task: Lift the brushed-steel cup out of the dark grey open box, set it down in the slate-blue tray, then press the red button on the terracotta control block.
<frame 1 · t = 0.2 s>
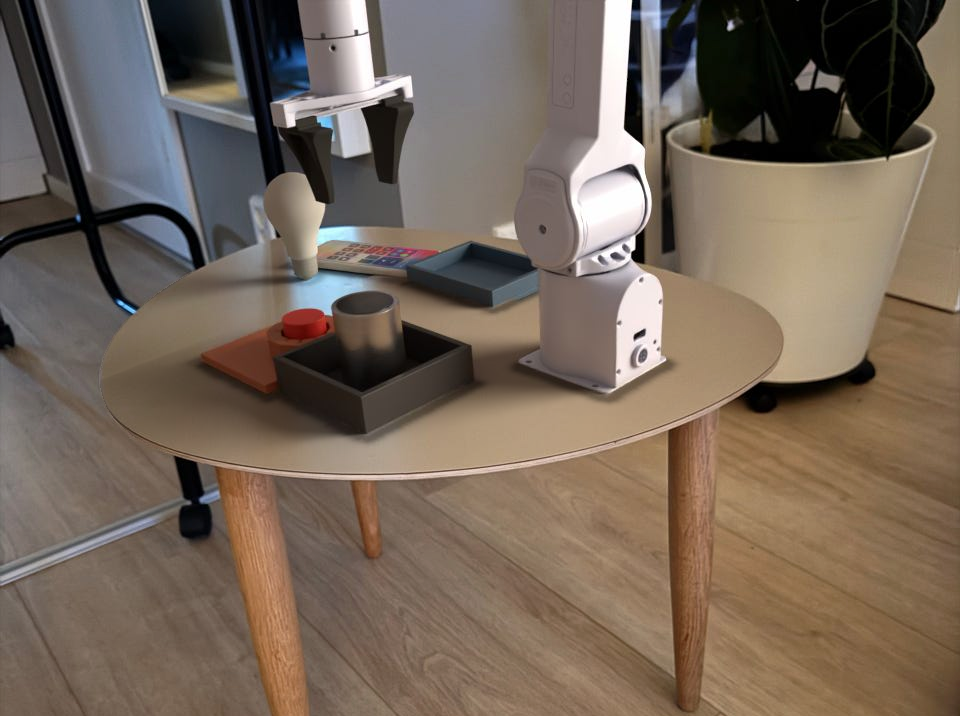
hand: (357, 191, 89), 10 cm above the table, tool pointing down, fingers open, 7 cm apart
steel cup: (376, 385, 76), resting on dark grey open box
dark grey open box: (377, 390, 76), on the table
tray: (481, 283, 95), on the table
start button: (304, 324, 80), point 3 cm above the table, slide at 0.1 cm
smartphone: (370, 264, 102), on the table
control: (278, 363, 82), on the table
lightbulb: (307, 281, 99), on the table
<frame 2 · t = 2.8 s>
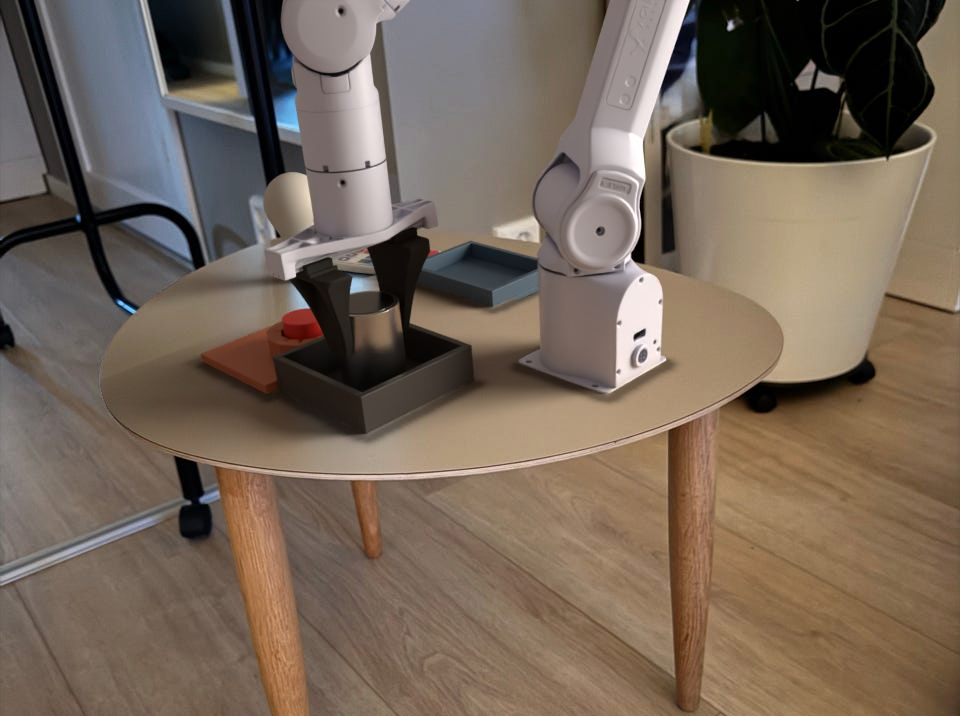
hand: (370, 340, 74), 4 cm above the table, tool pointing down, fingers closed on steel cup, 5 cm apart
steel cup: (376, 385, 76), point 1 cm above the table, touching gripper, dark grey open box
everything else where it was.
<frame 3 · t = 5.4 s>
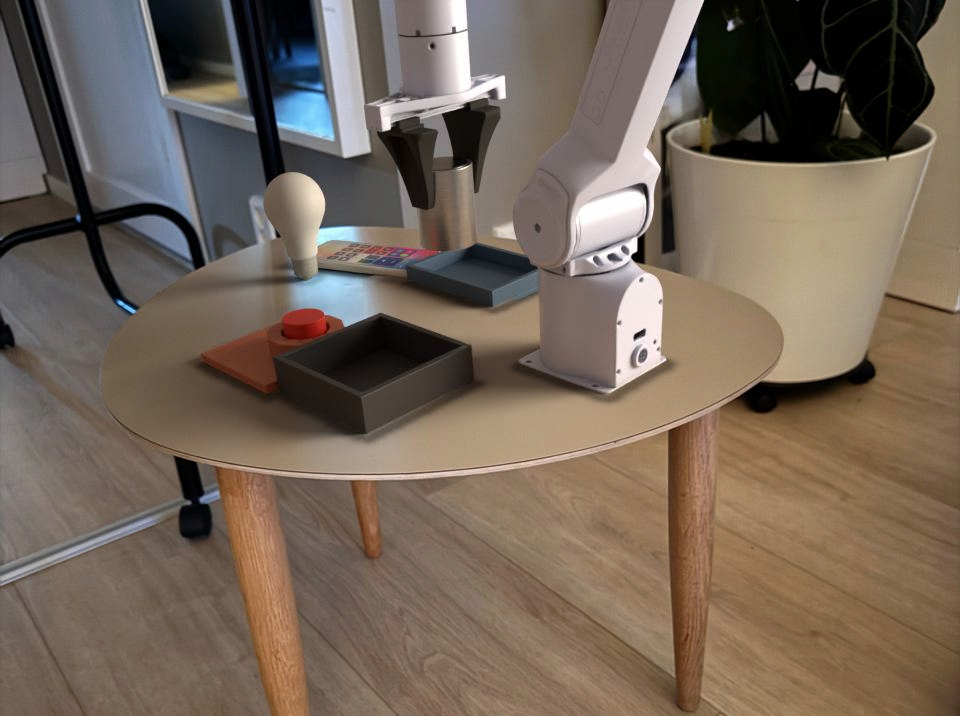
hand: (446, 199, 84), 10 cm above the table, tool pointing down, fingers closed on steel cup, 5 cm apart
steel cup: (448, 242, 86), point 7 cm above the table, touching gripper
everything else where it was.
when the fingers open (4 cm above the table, at t = 7.9 s): steel cup stays where it is, resting on tray.
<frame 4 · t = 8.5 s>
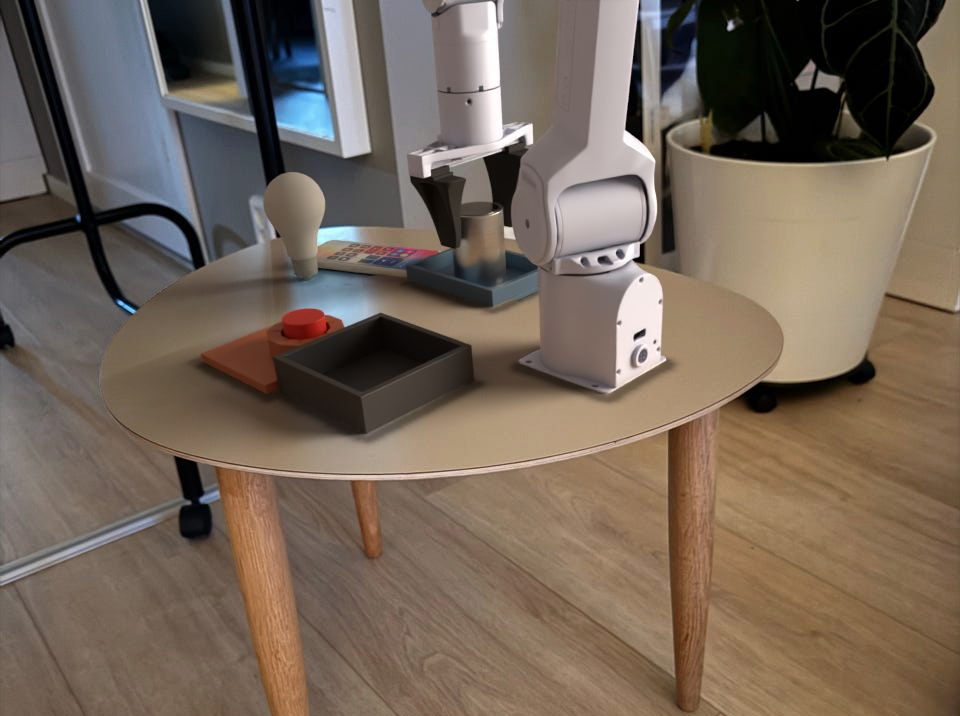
hand: (478, 235, 92), 5 cm above the table, tool pointing down, fingers open, 7 cm apart
steel cup: (480, 278, 95), resting on tray
everything else where it was.
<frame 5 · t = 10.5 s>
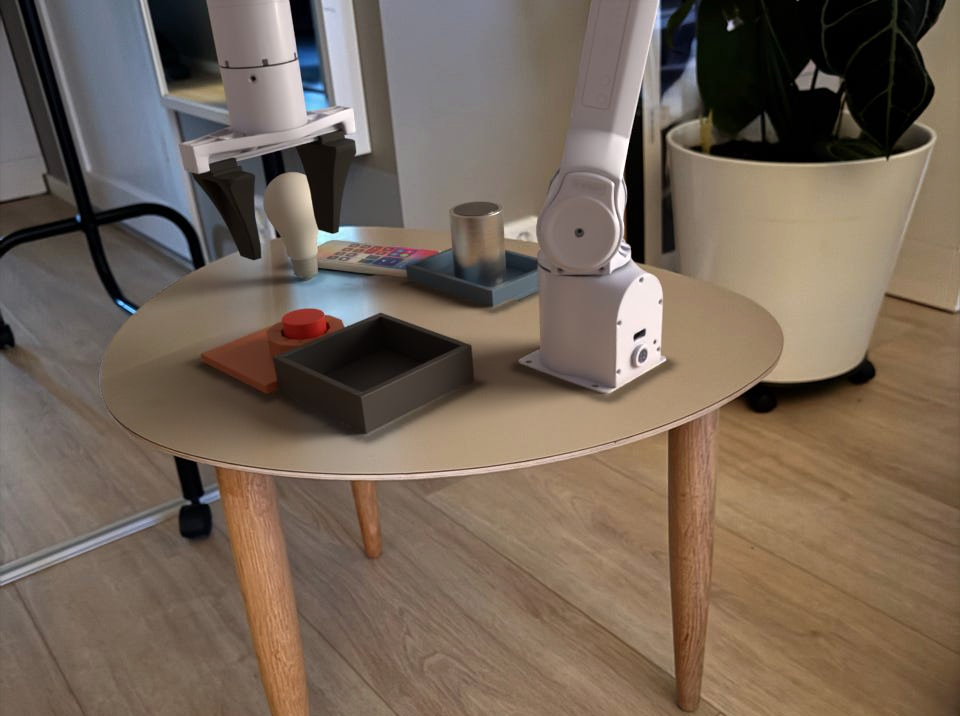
hand: (290, 243, 76), 10 cm above the table, tool pointing down, fingers open, 7 cm apart
nothing on the table moved.
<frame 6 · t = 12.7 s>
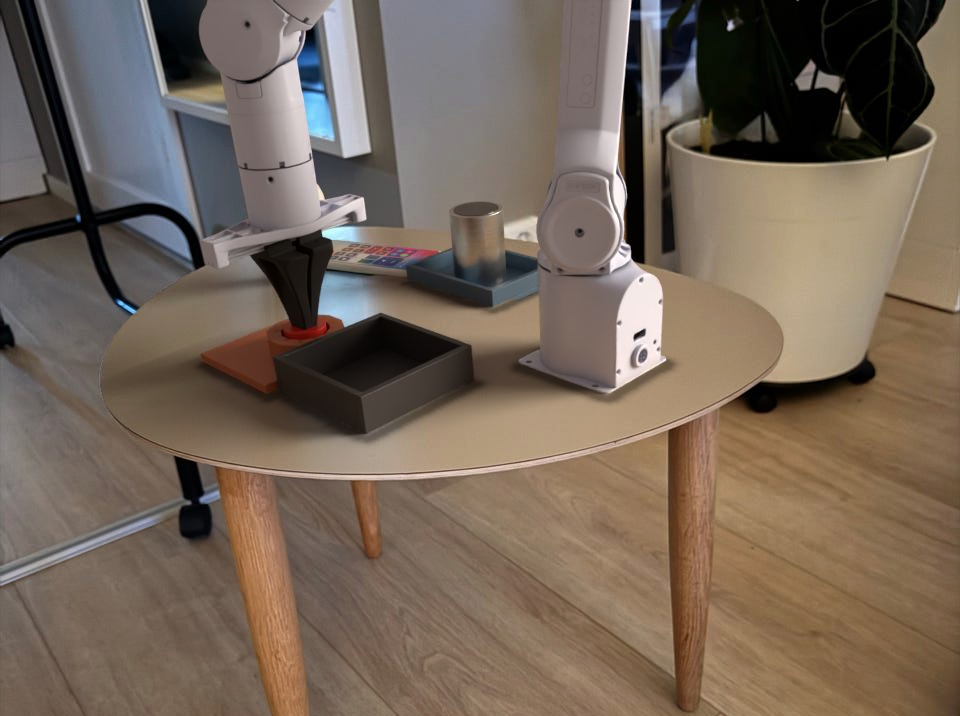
hand: (304, 325, 80), 3 cm above the table, tool pointing down, fingers closed, pressing on start button
start button: (305, 333, 80), point 3 cm above the table, slide at -0.7 cm, touching gripper
everything else where it was.
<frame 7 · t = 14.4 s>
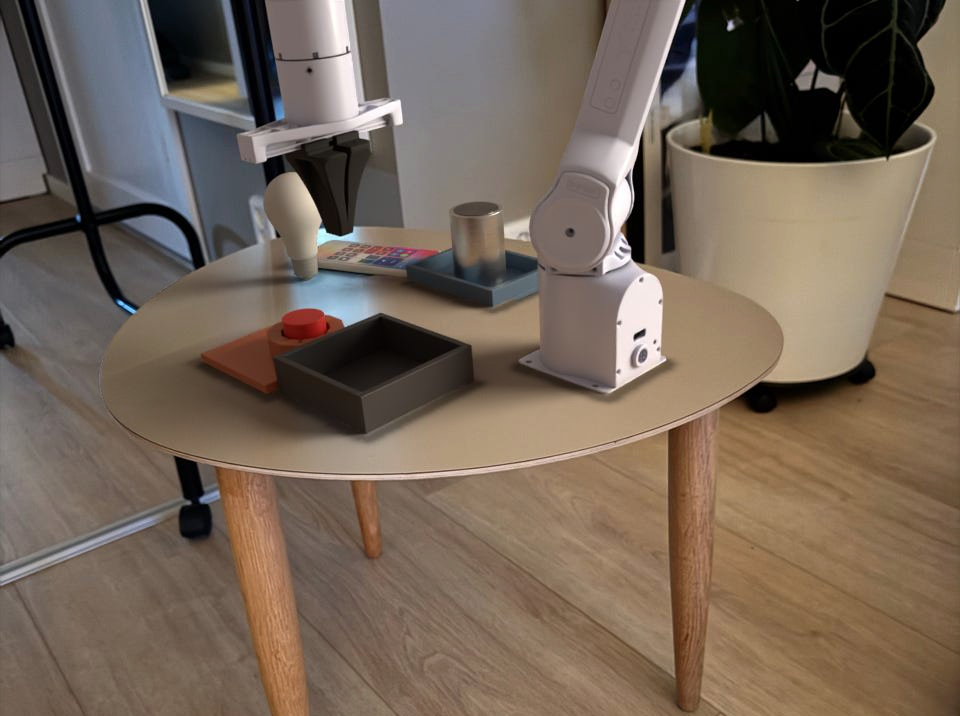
hand: (339, 232, 78), 10 cm above the table, tool pointing down, fingers closed
start button: (304, 324, 80), point 3 cm above the table, slide at 0.1 cm
everything else where it was.
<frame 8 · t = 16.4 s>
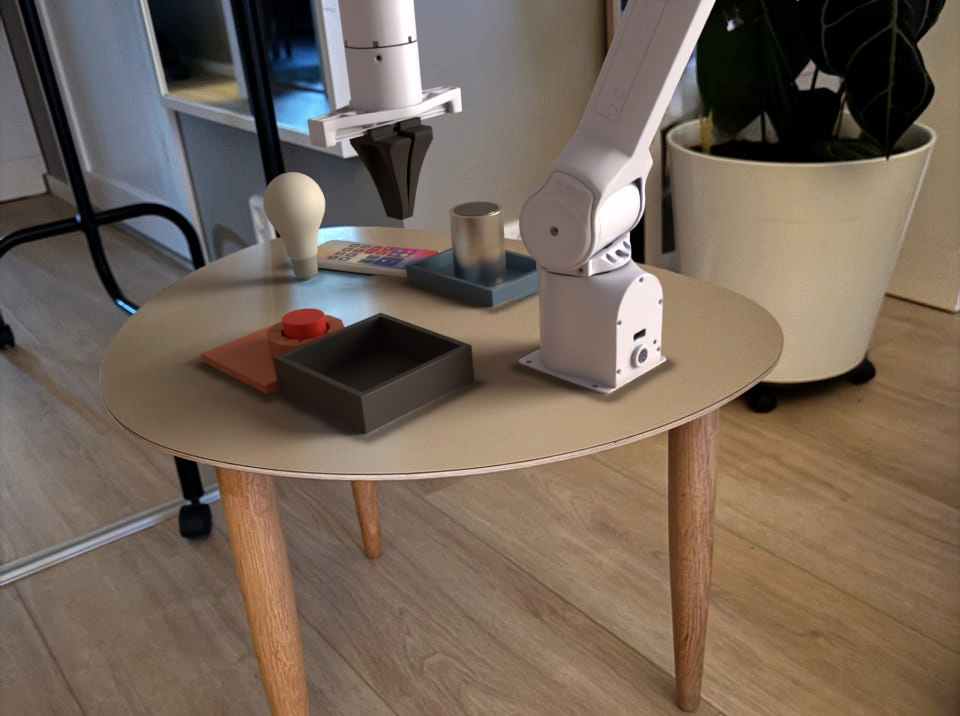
hand: (399, 216, 81), 10 cm above the table, tool pointing down, fingers closed
nothing on the table moved.
at the end: steel cup inside the target area in the tray (0.1 cm from its centre), point 0.5 cm above the tray's base; steel cup tilted 0°; start button pushed in 1.2 cm at the most during the clip, back to where it started at the end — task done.
